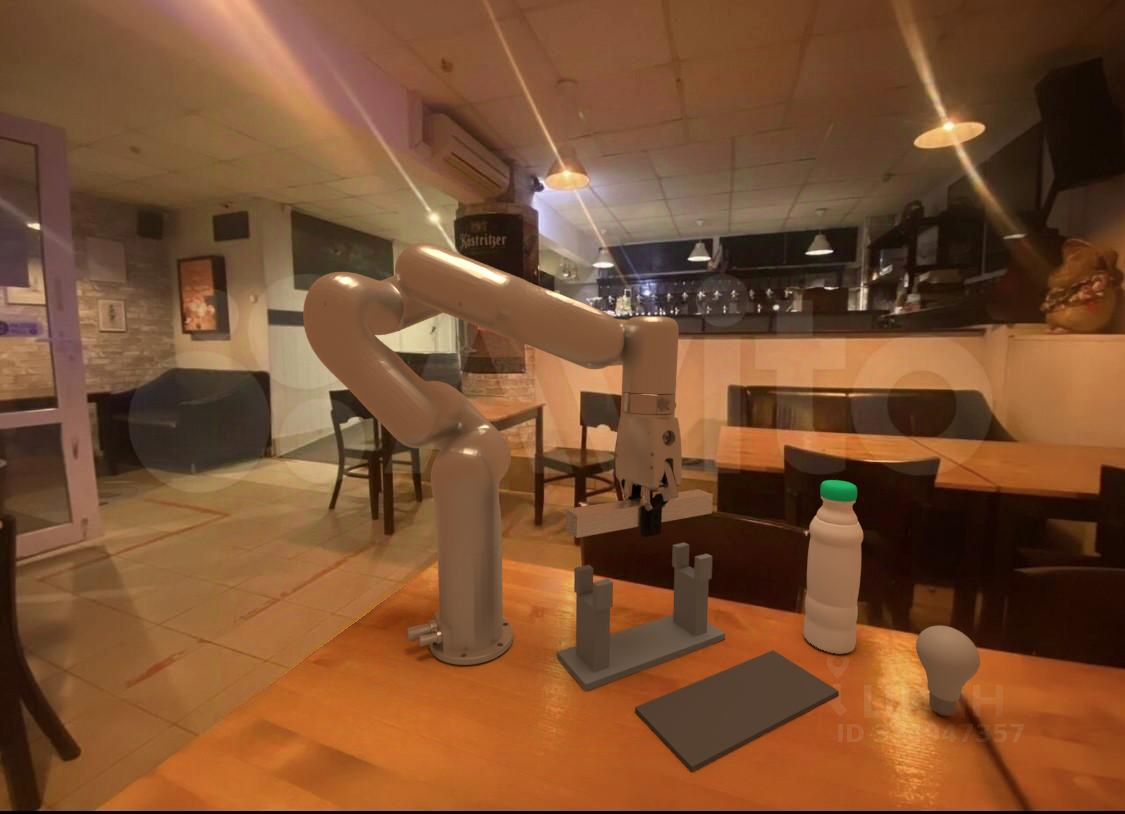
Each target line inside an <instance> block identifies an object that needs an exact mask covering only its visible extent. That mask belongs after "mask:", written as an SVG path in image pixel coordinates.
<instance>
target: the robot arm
mask: <svg viewBox="0 0 1125 814" xmlns="http://www.w3.org/2000/svg"><path fill="white" fill-rule="evenodd" d="M396 259H397V260H396V262H395V267H394V275H392V276H390V277H387V278H385V279H381V280H377V279H375V278H372V277H369V276H365V275H363V274H359V273H356V272H348V271H334V272H330V273H327V274H324V275H322V276H321V277H318V278H317V279H316V280H315V281H314V282H313V283H312V284H311V286H310V287H309V289H308V291H307V293H306V296H305V298H304V299H305V300H304V303H303V311H302V313H303V314H302V316H303V317H302V318H303V327H304V332H305V336H306V338H307V341H308V343H309V345H310V347H311V349H312V351H313V353H314V354H315V355H316V357H317V359H318V360H319V361H320V362H321V364H322V365H324V366H325V367H326V369H327V370H328V371H329V372H330V373H331V374H332V375H333V376H334V377H335V378H336V379H337V380H339V382H340V383H342V385H343V386H345V387H346V388H347V389H348V390H349V392H350V393H352V394H353V395H354V397H356V398H357V400H358V401H359V402H360V403H361V404H362V405H363V406H364V408H366V409H367V411H368V412H369V413H370V414H372V416H373V417H374V418H375V419H376V420H378V422H380V424H381V425H382V426H383V427H384V428H385V429H386V430H387V431H388V432H389V433H390V435H391V436H393V438H394V439H396V441H398V442H399V443H401V445H403V446H406V447H408V448H412V449H420V448H421V449H422V448H425V447H429V446H431V445H434V446H435V448H436V449H438V450H439V452H438V453H437V455H436V457H435V459H434V460H433V463H432V466H431V471H430V472H431V473H430V486H431V493H432V500H433V502H434V503H433V504H434V511H435V523H436V543H437V544H436V546H437V547H436V548H437V571H438V573H437V577H438V581H437V582H438V583H437V584H438V607H439V608H438V611H434V612H433V619H431V620H430V619H429V620H428V621H427V623H425V624H418V625H414V626H413V625H412V626H410V627H407V628H406V638H407V641H408V642H409V643H410V642H414V641H417V640H418V641H419V646H420V647H421V648H422V647H425V646H428V645H429V650H430V652H431V653H432V655H433V656H434V657H435V658H436V659H439V660H440V661H442V662H444V663H446V664H447V663H448V664H450V665H451V664H452V665H457V666H458V665H459V666H471V665H479V664H483V663H486V662H489V661H492V660H494V659H496V658H498V657H499V656H501V655H502V654H504V653H505V652H506V651H507V650H508V649H509V648H511V645H512V643H513V640H514V629H513V626H512V624H511V623H510V622H509V621H508V620H507V619H506V618H505V617H504V614H503V613H504V612H503V611H504V605H503V603H504V601H503V598H504V597H503V596H504V595H503V593H504V592H503V539H502V537H503V536H502V534H503V532H502V530H503V529H502V512H501V504H500V482H501V481H502V480H503V478H504V477H505V475H506V474H507V473H508V470H509V469H510V468H509V467H510V465H511V461H512V452H511V448H510V445H509V443H508V441H507V439H506V438H505V437H504V435H502V433H501V432H500V431H499V429H497V428H496V427H495V426H494V425H493V423H491V422H490V420H489V419H488V418H486V416H485V415H484V414H483V413H482V412H481V411H480V410H479V409H478V408H477V407H476V406H475V405H474V404H473V403H472V402H471V401H470V400H469V399H468V398H467V397H466V396H465V395H464V394H463V393H462V392H460V391H459V390H458V389H457V388H455V387H454V386H452V385H451V384H449V383H447V382H443V381H438V380H430V381H426V380H424V379H423V378H421V377H420V376H419V375H418V374H417V373H416V372H415V371H414V370H413V369H412V368H411V367H410V366H409V365H407V364H406V362H405V361H404V360H403V358H401V357H400V355H399V354H398V353H396V352H395V351H394V350H393V349H391V347H389V346H388V345H386V344H385V343H384V342H383V341H382V340H380V339H379V338H378V337H377V336H386V335H390V334H393V333H396V332H401V331H402V330H405V329H407V328H410V327H412V326H414V325H416V324H419V323H422V322H424V321H427V320H429V319H431V318H434V317H437V316H439V315H440V314H445V315H449V316H451V317H454V318H456V319H459V320H462V321H463V322H466V323H469V324H471V325H473V326H476V327H478V328H480V329H483V330H486V331H488V332H491V333H493V334H496V335H498V336H500V337H504V338H507V339H512V340H515V341H517V342H520V343H522V344H525V345H527V346H530V347H532V348H535V349H538V350H540V351H542V352H545V353H547V354H550V355H552V356H555V357H557V358H560V359H561V360H565V361H567V362H570V363H572V364H574V365H576V366H579V367H581V368H584V369H588V370H602V369H605V368H608V367H614V366H621V367H622V375H621V377H622V378H621V397H620V398H621V400H620V401H621V402H620V404H621V405H620V416H619V421H618V428H617V435H616V443H615V444H616V445H615V457H614V458H615V461H614V463H615V477H616V478H617V480H618V481H619V483H620V484H621V488H622V489H623V499H624V500H630V499H637V498H644V497H645V509H642V517H641V526H639V527H640V536H641V537H643V538H649V537H653V536H658V535H661V532H662V522H661V520H662V508H665V504H666V503H667V502H668V501H669V500H672V499H675V498H677V497H678V495H679V494H678V492H679V491H678V487H680V485H681V483H682V470H683V469H682V468H683V467H682V465H683V464H682V463H683V462H682V460H683V459H682V458H683V457H682V454H683V453H682V438H681V429H680V424H679V418H678V417H675V414H676V413H675V412H676V408H677V402H676V396H677V395H676V393H677V392H676V391H677V374H678V371H677V370H678V355H679V354H678V353H679V352H678V350H679V334H680V333H679V324H678V322H677V321H676V320H675V319H674V318H671V317H668V316H660V315H659V316H657V315H655V316H653V315H652V316H651V315H642V316H641V315H640V316H634V317H631V318H629V319H621V318H615V317H614V316H612V315H611V314H609V313H607V312H606V311H603V310H601V309H598V308H596V307H594V306H591V305H588V304H586V303H584V302H581V301H579V300H575V299H573V298H571V297H568V296H566V295H563V294H561V293H558V292H556V291H553V290H550V289H548V288H545V287H542V286H540V285H536V284H533V283H532V282H529V281H528V280H526V279H524V278H522V277H519V276H516V275H514V274H511V273H508V272H507V271H503V270H501V269H499V268H498V269H497V268H495V267H493V266H490V265H488V264H485V263H482V262H480V261H478V260H475V259H473V258H470V257H467V256H465V255H463V254H460V253H458V252H455V251H452V250H451V249H448V248H445V247H442V246H440V245H437V244H434V243H433V244H432V243H431V242H417V243H413V244H410V245H408V246H407V247H406V248H404V249H403V250H402V251H401V252H400V253H399V255H398V257H397V258H396ZM653 493H656V494H655V495H654V494H653ZM653 496H654V497H653ZM639 527H638V528H639ZM635 528H636V527H633V528H632V529H635Z"/></svg>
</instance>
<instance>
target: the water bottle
mask: <svg viewBox="0 0 1125 814" xmlns="http://www.w3.org/2000/svg"><path fill="white" fill-rule="evenodd" d="M819 488H820V489H819V491H820V492H819V494H820V499H821V500H822V505H821V506H820V508H818V510H817V511H816V515H815V516H814V517H813V519H812V520H811V521H810V524H809V527H808V528H809V529H808V530H809V534H810V539H809V545H808V551H807V567H806V568H807V569H806V589H807V592H806V594H805V598H804V599H805V601H804V610H805V615H804V620H803V628H802V631H803V636H804V638H805V639H806V641H807V642H808V643H809V644H810V643H811V644H812V645H811V644H810V645H811V646H813V645H814V646H815V647H814V646H813V647H814V648H816V647H817V648H816V649H818V648H819V649H818V650H820V649H821V650H820V651H822V650H824V651H823V652H825V651H827V652H826V653H829V652H830V653H829V654H833V653H835V655H845V654H848V653H852V652H853V651H854V650H855V648H856V644H857V643H856V642H857V628H856V625H857V622H858V615H859V613H858V611H859V608H858V598H859V593H860V591H859V590H860V583H861V574H862V572H861V571H862V543H863V541H864V532H863V531H864V530H863V529H862V526H861V524H860V522H859V520H858V516H857V514H856V513H855V511H854V509H853V505H854V504H855V503H856V502H857V501H856V500H857V497H858V487H857V486H856V485H855V484H853V483H851V482H849V481H845V480H838V479H835V480H834V479H831V480H830V479H828V480H824V481H822V482H821V484H820V487H819ZM844 653H845V654H844Z"/></svg>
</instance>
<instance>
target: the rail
mask: <svg viewBox="0 0 1125 814" xmlns="http://www.w3.org/2000/svg"><path fill="white" fill-rule="evenodd" d="M678 494H679V495H678V497H677V498H675V499H672V500H669V501H668V502H667V503H666V504H665V508H662V520H661V523H665V522H671V521H672V522H673V521H676V520H681V519H682V520H683V519H689V518H693V517H699V516H704V515H711V514H712V513H713V497H714V496H713V495H714V493H712V492H711V493H710V492H707V491H705V490H702V489H699V488H697V489H692V490H685V491H678ZM654 496H655V495H653V497H654ZM642 509H645V496H643V498H637V499H630V500H625V499H624V500H618V501H611V502H604V503H597V504H592V505H583V506H578V507H570V508H566V510H565V532H567V533H569V534H570V535H572V536H573V537H575V538H576V539H578V538H583V537H589V536H593V535H595V536H596V535H601V534H605V533H611V532H615V531H621V530H626V529H634V528H633V527H635V528H639V526H640V527H641V517H642Z"/></svg>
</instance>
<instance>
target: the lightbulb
mask: <svg viewBox="0 0 1125 814" xmlns="http://www.w3.org/2000/svg"><path fill="white" fill-rule="evenodd" d="M915 641H916V642H915V650H916V653H917V657H918V659H919V661H920V663H921V665H922V667H923V669H924V671H925V675H926V679H927V689H928V691H929V696H928V699H929V700H928V703H929V707H930V708H931V709H932V710H933V711H934V712H936V713H937V714H938V715H940V716H943V717H946V716H947V717H948V716H949V717H950V716H954V715H955V713H956V709H957V702H958V701H959V700H960V698H961V694H962V690H963V689H964V688H963V687H964V686H965V685H966V683H967V682H969V681H970V680H972V678H973V677H974V676H975V675H976V674H977V673H978V670H979V669H980V666H981V658H980V653H979V650H978V648H977V647H976V645H975V643H974V642H973V641H972V640H971V639H970V638H969V637H968V636H967V635H966V634H964V633H963V632H962V631H960V630H958V629H956V628H954V627H952V626H946V625H934V626H933V625H932V626H929V627H927V628H925V629H923V630H922V631H921V632H920V633H919V635H918V637H917V639H916V640H915Z"/></svg>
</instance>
